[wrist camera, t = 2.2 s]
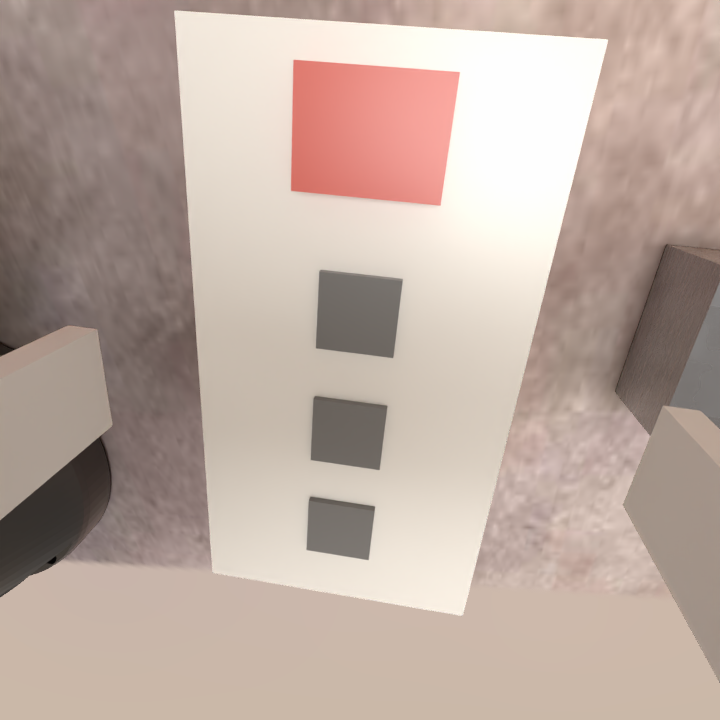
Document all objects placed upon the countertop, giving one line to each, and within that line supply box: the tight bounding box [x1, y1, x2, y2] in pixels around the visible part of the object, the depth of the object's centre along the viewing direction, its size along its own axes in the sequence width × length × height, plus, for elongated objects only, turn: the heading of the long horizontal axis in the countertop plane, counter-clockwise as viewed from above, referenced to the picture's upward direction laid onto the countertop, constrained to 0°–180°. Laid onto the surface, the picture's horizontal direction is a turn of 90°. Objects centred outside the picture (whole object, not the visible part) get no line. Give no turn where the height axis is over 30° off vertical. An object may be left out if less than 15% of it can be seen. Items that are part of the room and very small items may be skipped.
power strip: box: [174, 11, 608, 616], centre depth 16 cm, size 16×9×9 cm, turn 175°
